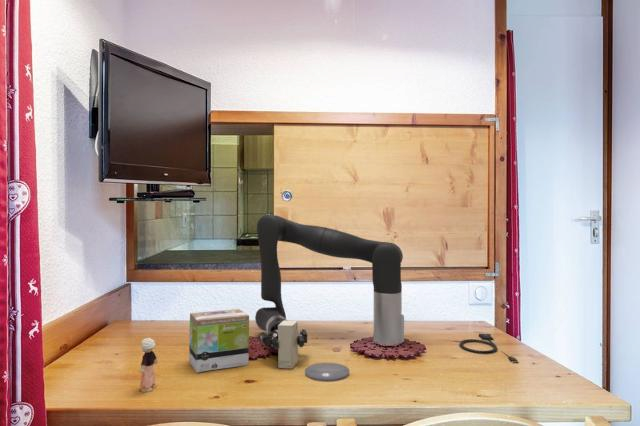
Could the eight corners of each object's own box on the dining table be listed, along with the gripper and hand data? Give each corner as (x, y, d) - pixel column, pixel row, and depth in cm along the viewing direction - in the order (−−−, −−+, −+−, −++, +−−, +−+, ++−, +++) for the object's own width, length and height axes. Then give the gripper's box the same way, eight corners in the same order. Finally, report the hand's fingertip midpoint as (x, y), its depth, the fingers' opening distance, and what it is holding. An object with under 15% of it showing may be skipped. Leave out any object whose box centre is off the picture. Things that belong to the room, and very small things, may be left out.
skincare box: (292, 369, 128) (292, 325, 128) (277, 368, 129) (277, 325, 129) (298, 362, 134) (298, 320, 134) (283, 360, 135) (283, 319, 135)
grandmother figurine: (144, 383, 118) (144, 334, 118) (159, 383, 118) (159, 334, 118) (135, 395, 110) (134, 343, 110) (151, 395, 110) (151, 342, 110)
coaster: (341, 363, 133) (341, 361, 133) (355, 378, 121) (355, 375, 121) (300, 367, 130) (300, 364, 129) (311, 383, 118) (311, 380, 118)
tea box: (196, 374, 124) (196, 319, 124) (188, 363, 133) (188, 312, 133) (249, 365, 131) (249, 314, 131) (239, 355, 140) (238, 307, 140)
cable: (471, 364, 134) (471, 359, 134) (450, 336, 162) (450, 332, 162) (519, 365, 133) (519, 360, 133) (490, 337, 161) (490, 333, 161)
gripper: (256, 319, 143) (264, 333, 127) (301, 316, 147) (314, 329, 131) (256, 343, 143) (264, 360, 127) (301, 339, 147) (314, 355, 131)
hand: (289, 344), depth 129 cm, fingers closed on skincare box, 6 cm apart
